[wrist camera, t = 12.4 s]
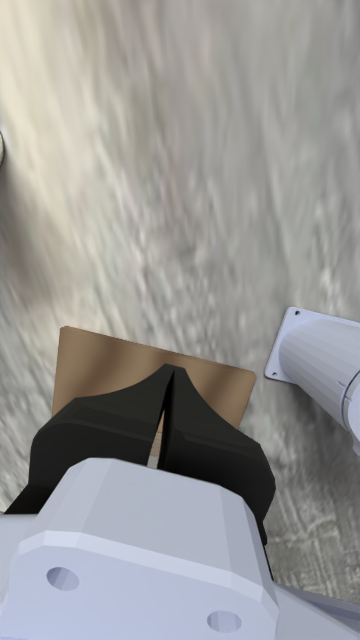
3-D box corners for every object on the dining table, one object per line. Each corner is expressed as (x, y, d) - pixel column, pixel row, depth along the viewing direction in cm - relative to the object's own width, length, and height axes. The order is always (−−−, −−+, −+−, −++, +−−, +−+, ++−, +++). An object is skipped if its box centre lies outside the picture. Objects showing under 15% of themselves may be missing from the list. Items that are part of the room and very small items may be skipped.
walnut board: (253, 371, 21) (256, 376, 20) (211, 492, 24) (212, 501, 23) (66, 325, 21) (60, 327, 20) (53, 451, 24) (47, 458, 23)
